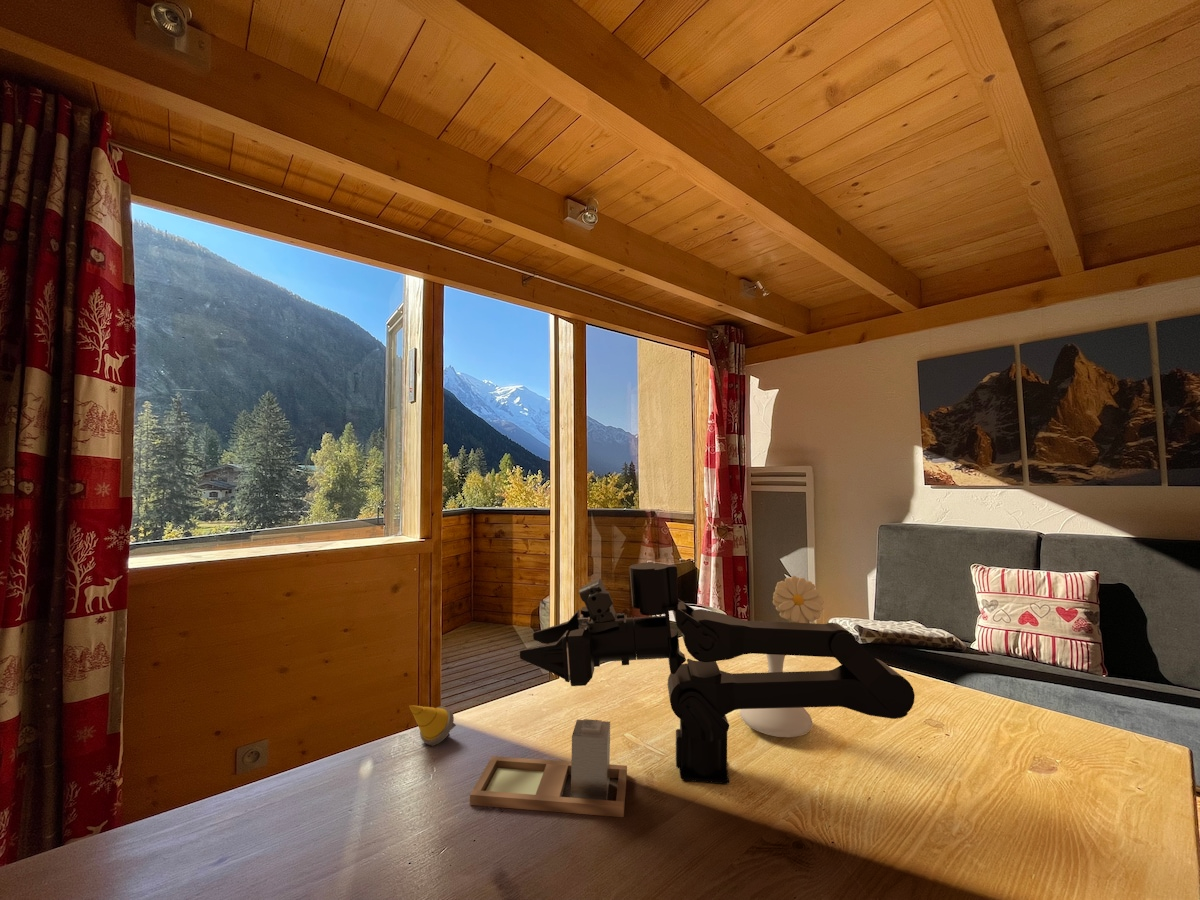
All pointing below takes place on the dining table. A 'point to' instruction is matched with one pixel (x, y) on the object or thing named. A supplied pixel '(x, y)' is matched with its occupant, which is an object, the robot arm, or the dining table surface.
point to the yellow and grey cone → (433, 723)
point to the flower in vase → (797, 606)
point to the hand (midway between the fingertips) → (527, 644)
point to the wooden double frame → (541, 787)
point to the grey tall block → (590, 759)
